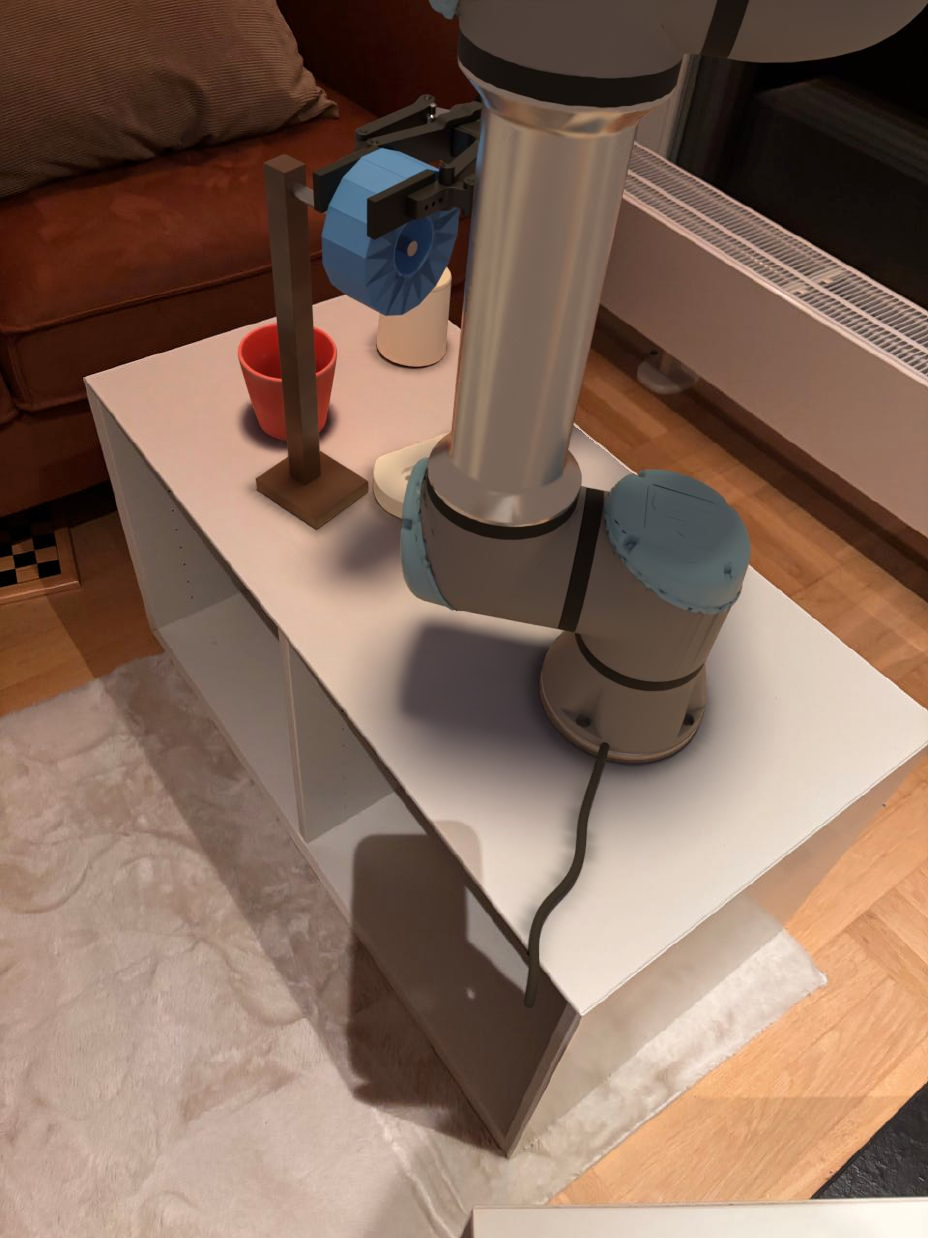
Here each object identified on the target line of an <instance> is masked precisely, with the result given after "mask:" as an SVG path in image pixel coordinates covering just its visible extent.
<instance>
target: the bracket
mask: <svg viewBox="0 0 928 1238" xmlns="http://www.w3.org/2000/svg"><path fill="white" fill-rule="evenodd" d="M450 432H451V431H448V432H445V433H443V434H440V435H436V436H434V437H431V438H429V439H426V440H423V441H420V442H417V443H414V444H411V445H408V446H405V447H402V448H399V449H397V450H394V451H390V452H388V453H385V454H382V455H380V456H379V457H378V458H377V459H376V461H375V463H374V465H373V485H372V486H373V488H372V489H373V493H374V497H375V500H376V502H377V503H378V504H379V505H380V506H381V508H383V509H384V510H385V511H386V512H387V513H389V514H391V515H393V516H394V517H396V518H399V519H402V510H403V502H404V497H405V492H406V487H407V483H408V480H409V477H410V474H411V472H412V469H413V467H414V466H415V464H416V463H417V462H418V461H419V460H420V459H422V458H425V457H429V456H430V453H431V451H432V450H433V448H434V446H435V445H436V444H437V443H438V442H439V441H440V440H441V439H442V438H443V437H444V436H446V435H447V434H449V433H450ZM402 520H403V519H402Z"/></svg>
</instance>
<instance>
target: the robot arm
mask: <svg viewBox="0 0 928 1238" xmlns="http://www.w3.org/2000/svg"><path fill="white" fill-rule="evenodd" d="M428 2H429V4H430V6H431V8H432V9H433V10H434V11H435V12H437V13H439V14H441V15H442V16H443V17H444V18H445V19H448V20H451V21H452V20H453V21H454V18H458V36H457V37H458V39H457V49H456V50H457V51H456V52H457V53H456V55H457V64H458V68H459V69H460V71H461V72H462V73H463V75H464V76H465V77H466V79H467V80H468V81H469V83H470V84H471V85H472V86H473V87H474V89H475V90H476V91H477V92H478V93H477V94H476V96H475V97H474V98H473V100H472V101H471V102H467V103H458V104H455V105H453V106H452V107H451V108H450V109H446V108H442V107H439V106H437V104H436V103H435V101H436V100H435V99H436V98H435V96H433V95H431V94H427V93H426V94H422V95H420V96H419V97H418V98H417V99H416V101H415V102H414V103H411V104H410V105H407V106H405V107H403V108H401V109H398V110H396V111H394V112H391V113H389V114H387V115H385V116H382V117H379V118H378V119H376V120H373V121H371V122H368V123H366V124H364V125H362V126H360V127H356V129H354V152H351V153H349V154H348V155H344V156H342V157H340V158H338V159H337V160H335V162H333V163H330V164H327V165H326V166H323V167H321V168H319V169H317V170H315V171H313V172H312V173H311V174H312V190H313V196H314V208H313V210H314V211H316V212H318V213H320V214H324V212H326V211H327V210H328V206H329V204H330V202H331V200H332V198H333V196H334V194H335V192H336V190H337V188H338V186H339V184H340V182H341V180H342V178H343V177H344V176H345V175H346V174H347V172H348V171H349V170H350V169H351V168H352V167H353V166H354V165H355V164H356V163H357V162H358V161H359V160H360V159H361V157H363V156H365V155H367V154H370V153H372V152H374V151H376V150H379V149H381V148H384V149H388V150H393V151H399V152H402V153H404V154H406V155H408V156H410V157H413V158H415V159H417V160H419V161H422V162H424V163H426V164H428V165H429V164H431V163H435V162H439V163H438V164H439V165H438V169H439V177H438V180H437V181H435V172H432V171H430V170H428V169H427V170H425V171H422V172H420V173H418V174H416V175H414V176H412V177H410V178H408V179H406V180H404V181H402V182H400V183H398V184H396V185H394V186H392V187H390V188H388V189H386V190H383V191H381V192H379V193H377V194H375V195H373V196H371V197H369V198H367V236H368V237H370V238H372V239H374V240H376V239H378V238H380V237H381V236H383V235H385V234H387V233H389V232H391V231H393V230H395V229H397V228H399V227H400V226H402V225H404V224H406V223H408V222H410V221H412V220H414V219H415V220H419V219H423V218H425V217H427V216H429V215H431V214H433V213H435V212H437V211H439V210H442V211H450V210H452V209H453V208H454V207H456V208H460V209H459V210H461V211H460V214H461V215H462V216H463V217H466V218H470V228H469V238H468V248H467V249H468V250H467V260H466V268H465V269H466V270H465V281H464V293H463V300H462V301H463V302H462V312H461V313H462V314H461V324H460V335H459V344H458V345H459V346H458V357H457V365H456V366H457V367H456V377H455V387H454V399H453V410H452V420H451V429H450V431H449V432H450V433H449V434H447V435H446V436H444V437H443V438H442V439H441V440H440V441H439V442H438V443H437V444H436V445H435V446H434V448H433V450H432V451H431V453H430V456H429V457H425V458H422V459H420V460H419V461H418V462H417V463H416V464H415V466H414V467H413V469H412V472H411V474H410V477H409V480H408V483H407V487H406V492H405V497H404V502H403V510H402V525H401V529H400V538H399V546H400V547H399V549H400V551H399V552H400V564H401V571H402V575H403V578H404V582H405V584H406V586H407V588H408V590H409V591H410V592H411V593H412V595H413V596H414V597H416V598H417V599H418V600H421V601H424V602H427V603H430V604H434V605H437V606H442V607H445V608H447V609H449V610H450V611H455V612H464V613H465V612H466V613H471V614H476V615H481V616H487V617H493V618H497V619H503V620H508V621H511V622H512V621H513V622H518V623H524V624H529V625H533V626H539V627H543V628H544V627H545V628H549V629H555V630H559V631H562V632H561V633H559V635H558V636H557V637H556V638H555V639H554V641H553V642H552V644H551V645H550V647H549V648H548V650H547V652H546V654H545V656H544V658H543V662H542V666H541V670H540V674H539V681H538V682H539V683H538V685H539V686H538V687H539V695H540V701H541V704H542V706H543V709H544V711H545V714H546V715H547V717H548V719H549V720H550V722H551V723H552V724H553V726H554V727H555V729H556V730H557V731H559V733H560V734H561V735H562V736H563V737H564V738H565V739H567V740H568V741H569V742H570V743H572V745H574V746H576V747H577V748H579V749H581V751H584V752H586V753H588V754H589V755H592V756H595V757H596V758H595V762H594V765H593V768H592V770H591V775H590V777H589V781H588V783H587V787H586V790H585V793H584V796H583V799H582V802H581V806H580V809H579V815H578V821H577V831H576V847H575V853H574V856H573V860H572V863H571V866H570V868H569V870H568V871H567V874H566V875H565V876H564V877H563V879H562V880H561V882H559V884H558V885H557V886H556V887H555V888H554V889H553V890H552V891H550V893H549V894H548V895H547V896H546V897H545V898H544V899H543V901H542V903H541V904H540V905H539V907H538V909H537V910H536V912H535V914H534V917H533V918H532V922H531V925H530V930H529V938H528V976H527V977H528V978H527V985H526V989H525V994H524V999H523V1005H524V1007H525V1008H527V1009H531V1008H533V1007H534V1006H535V1003H536V998H537V994H538V989H539V981H540V941H541V940H540V939H541V933H542V929H543V925H544V924H545V920H546V918H547V916H548V914H549V912H551V910H552V909H553V908H554V906H555V905H556V904H557V903H558V902H559V901H560V899H561V898H562V897H563V896H564V895H565V894H566V893H567V892H568V891H569V890H570V889H571V888H572V886H573V885H574V883H576V880H577V879H578V877H579V875H580V873H581V870H582V868H583V864H584V861H585V858H586V857H585V856H586V852H587V851H586V850H587V837H588V825H589V817H590V813H591V810H592V805H593V802H594V799H595V795H596V793H597V790H598V786H599V784H600V781H601V777H602V774H603V771H604V770H603V769H604V767H605V764H606V761H611V762H615V763H621V764H644V763H652V762H656V761H660V760H662V759H665V758H668V757H669V756H672V755H674V754H675V753H677V752H679V751H680V750H681V749H683V747H685V746H686V744H688V743H689V741H690V740H691V739H692V738H693V737H694V734H695V733H696V731H697V730H698V727H699V726H700V724H701V722H702V719H703V716H704V714H705V709H706V703H707V694H708V693H707V676H706V675H707V673H706V662H707V659H708V658H709V655H710V653H711V651H712V649H713V647H714V644H715V643H716V640H717V638H718V636H719V634H720V632H721V629H722V628H723V625H724V624H725V621H726V619H727V617H728V615H729V613H730V611H731V609H732V607H733V606H734V605H735V604H736V602H737V601H738V600H739V598H740V596H741V594H742V589H743V583H744V581H745V577H746V574H747V572H748V569H749V565H750V562H751V556H752V544H751V538H750V534H749V531H748V529H747V526H746V523H745V522H744V520H743V518H742V517H741V515H740V514H739V512H738V511H737V510H736V509H735V508H734V507H733V506H732V505H730V504H729V503H728V502H727V501H726V498H725V497H724V496H723V495H722V494H721V493H719V492H718V491H717V490H715V489H714V488H713V487H711V486H710V485H708V484H706V483H705V482H703V481H701V480H699V479H697V478H695V477H692V476H689V475H687V474H684V473H681V472H677V471H673V470H667V469H657V468H656V469H655V468H653V469H643V470H640V471H639V472H638V474H636V473H633V472H632V473H630V474H626V475H625V476H624V477H622V478H621V479H620V480H618V481H617V482H616V484H614V486H612V487H611V488H610V490H609V491H608V490H603V489H598V488H593V487H588V486H583V485H582V484H583V482H582V481H583V476H582V470H581V467H580V464H579V462H578V461H577V459H576V457H575V456H574V455H573V453H572V452H571V451H570V449H569V447H570V443H571V438H572V433H573V428H574V424H575V420H576V415H577V411H578V405H579V401H580V397H581V392H582V387H583V383H584V379H585V373H586V369H587V364H588V358H589V354H590V349H591V345H592V342H593V341H592V340H593V336H594V332H595V326H596V322H597V317H598V313H599V307H600V303H601V298H602V294H603V289H604V285H605V280H606V276H607V271H608V266H609V262H610V256H611V252H612V247H613V243H614V237H615V234H616V229H617V224H618V220H619V215H620V211H621V205H622V201H623V196H624V191H625V187H626V183H627V178H628V173H629V168H630V164H631V159H632V154H633V150H634V145H635V140H636V136H637V132H638V131H637V130H638V126H639V123H640V122H641V120H642V119H643V118H644V117H646V116H647V115H648V114H650V113H651V112H653V111H654V110H656V109H658V107H661V105H663V104H664V103H665V102H667V101H668V100H669V99H670V98H671V97H673V95H674V94H675V92H676V89H677V85H678V81H679V78H680V72H681V68H682V63H683V60H684V56H685V55H686V54H688V55H698V56H699V55H700V56H705V57H706V56H707V57H713V58H719V59H725V60H726V59H729V60H733V61H739V62H750V63H798V62H807V61H817V60H822V59H828V58H835V57H838V56H843V55H846V54H850V53H854V52H858V51H862V50H864V49H867V48H869V47H873V46H874V45H876V44H879V43H880V42H882V41H884V40H886V39H887V38H890V37H892V36H893V35H895V34H896V33H898V32H899V31H900V30H902V29H903V28H904V27H905V26H907V25H908V24H910V23H911V21H912V20H913V19H915V18H916V17H917V16H918V15H919V14H920V13H921V12H922V11H923V10H924V8H925V7H926V6H927V5H928V0H428ZM442 163H443V164H442Z"/></svg>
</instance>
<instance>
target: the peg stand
mask: <svg viewBox="0 0 928 1238" xmlns="http://www.w3.org/2000/svg"><path fill="white" fill-rule="evenodd" d="M262 165H263V176H264V186H265V187H264V188H265V200H266V211H267V212H266V213H267V225H268V234H269V236H268V237H269V246H270V247H269V248H270V260H271V270H272V282H273V283H272V284H273V292H274V306H275V317H276V318H275V319H276V323H277V331H278V343H279V354H280V366H281V378H282V390H283V402H284V413H285V425H286V437H287V441H286V447H287V457H285V458H284V459H282V460H281V461H279V462H278V463H277V464H275V465H274V466H272V467H270V468H268V469H267V470H266V471H264V472H262V473H261V474H260V475H258V476H257V477H256V478H255V487H256V490H257V491H259V492H260V493H262V494H263V495H265V496H266V497H268V498H269V499H270V500H272V501H273V502H275V503H277V504H278V505H280V506H281V507H283V508H284V509H285V510H287V511H289V512H290V513H292V514H293V515H295V516H296V517H297V518H299V519H300V520H301V521H304V522H305V523H307V524H308V525H310V526H311V527H313V528H314V529H315V530H319V529H320V528H321V527H323V526H324V525H325V524H326V523H328V522H329V521H330V520H332V519H333V518H335V517H336V516H337V515H339V514H340V513H342V512H343V511H344V510H345V509H347V508H348V507H350V506H351V505H352V504H353V503H355V502H356V501H357V500H359V499H361V498H362V497H363V496H365V494H367V493H368V492H369V480H368V479H366V478H364V477H363V476H361V475H359V474H358V473H357V472H355V471H353V470H352V469H350V468H348V467H347V466H345V465H343V464H342V463H340V462H339V461H337V460H336V459H334V458H333V457H331V456H330V455H327V453H324V452H323V451H321V446H320V432H319V425H318V405H317V385H316V365H315V345H314V327H315V325H314V309H313V308H314V306H313V287H312V286H313V285H312V269H311V268H312V267H311V246H310V229H309V227H310V226H309V208H308V207H311V208H312V209H314V196H313V188H312V189H311V188H310V187H307V169H306V168H307V166H306V163H304V162H302V161H300V160H298V159H296V158H294V157H291V156H289V155H288V154H286V153H284V154H281V155H277V156H276V157H274V158H272V159H269V160H267V161H264V162H263V164H262ZM323 214H324V215H326V214H327V211H326V212H324V213H323ZM396 250H398V251H400V252H402V253H404V254H406V255H408V256H413V255H414V254H415V252H416V250H417V242H416V241H415V240H413V239H411V238H409V237H407V236H404V235H402V234H400V236H399V238H398V241H397V245H396Z"/></svg>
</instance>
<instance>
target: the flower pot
mask: <svg viewBox="0 0 928 1238" xmlns="http://www.w3.org/2000/svg"><path fill="white" fill-rule="evenodd" d="M314 345H315V365H316V385H317V405H318V425H319V433H320V432H321V431H322V430H323V429H324V427H325V425H326V422H327V418H328V413H329V406H330V401H331V395H332V390H333V383H334V380H335V379H334V378H335V373H336V367H337V360H338V349H337V348H338V347H337V345H336V342H335V341H334V340H333V338H332V337H331V336H330V335H329V334H328V333H326V331H324V330H323V329H321V328H319V327H316V326H314ZM237 359H238V363H239V366H240V369H241V373H242V376H243V380H244V383H245V386H246V389H247V393H248V396H249V399H250V402H251V405H252V407H253V410H254V414H255V416H256V419H257V421H258V424H259V427H260V428H261V430H262V431H263V432H264V433H265V434H267V435H268V436H270V437H272V438H274V439H277V440H280V441H285V442H287V437H286V425H285V413H284V402H283V390H282V378H281V366H280V354H279V343H278V331H277V322H274V323H269V324H264V325H262V326H259V327H257V328H254V329H253V330H251V331H250V332H248V333H247V334H246V335H245V336H243V338H242V339H241V341H240V342H239V345H238V348H237Z"/></svg>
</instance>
